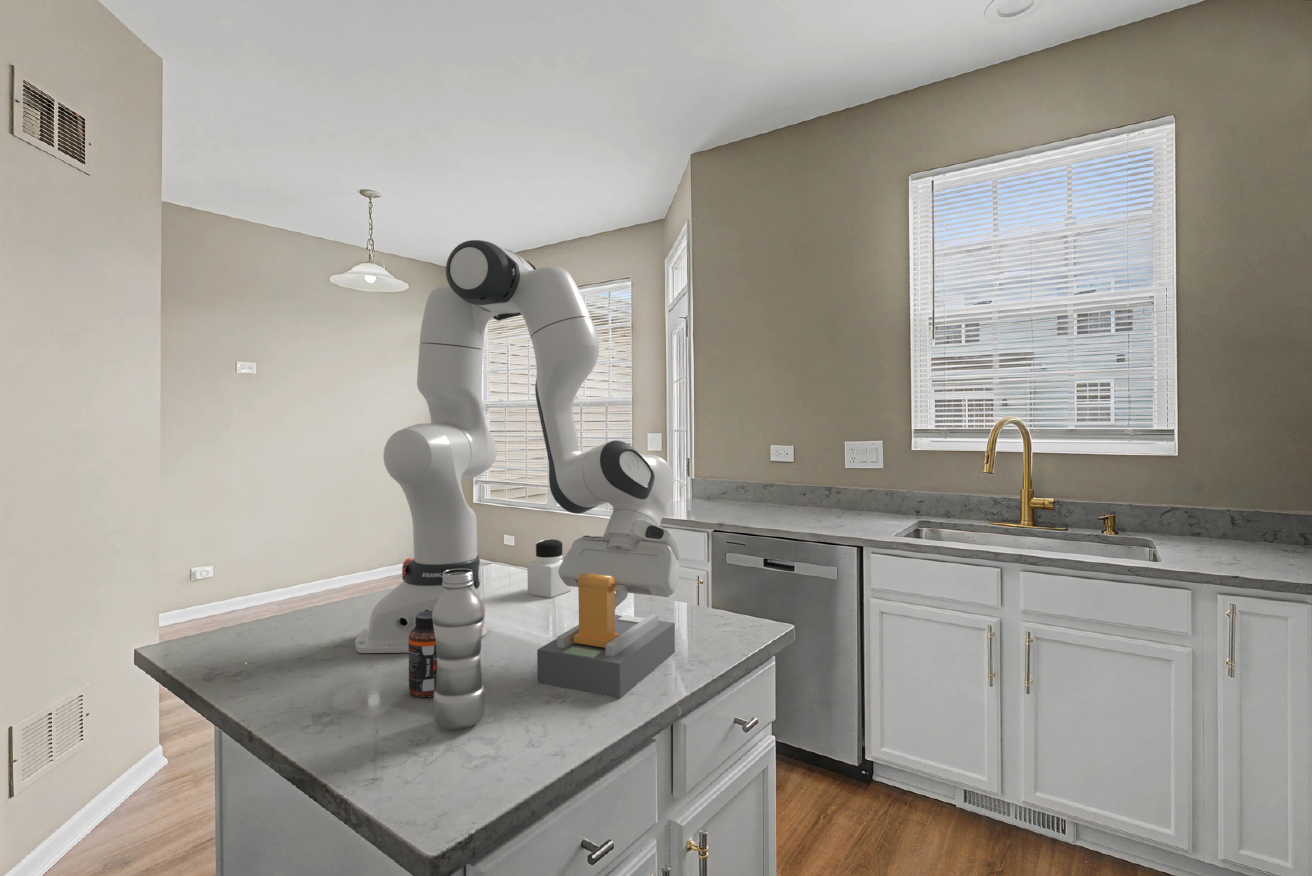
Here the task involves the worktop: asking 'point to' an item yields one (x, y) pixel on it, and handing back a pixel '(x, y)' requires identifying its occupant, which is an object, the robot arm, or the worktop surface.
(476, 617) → the plastic bottle
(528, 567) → the medicine bottle
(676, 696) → the worktop surface
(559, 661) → the breaker box
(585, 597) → the handle
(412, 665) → the supplement bottle
